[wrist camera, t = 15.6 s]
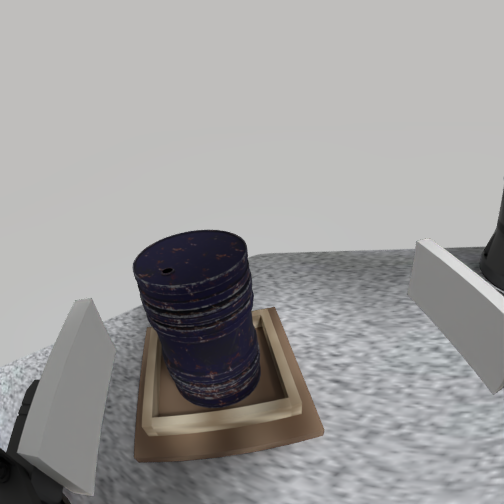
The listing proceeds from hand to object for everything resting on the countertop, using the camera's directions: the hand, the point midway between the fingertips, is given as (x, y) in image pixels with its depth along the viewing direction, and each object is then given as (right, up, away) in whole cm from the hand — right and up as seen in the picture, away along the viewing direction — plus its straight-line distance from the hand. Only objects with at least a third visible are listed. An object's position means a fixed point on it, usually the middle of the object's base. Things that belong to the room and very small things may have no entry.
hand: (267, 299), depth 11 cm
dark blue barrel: (-4, -12, +20) cm, 24 cm away
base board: (-4, -13, +21) cm, 25 cm away
